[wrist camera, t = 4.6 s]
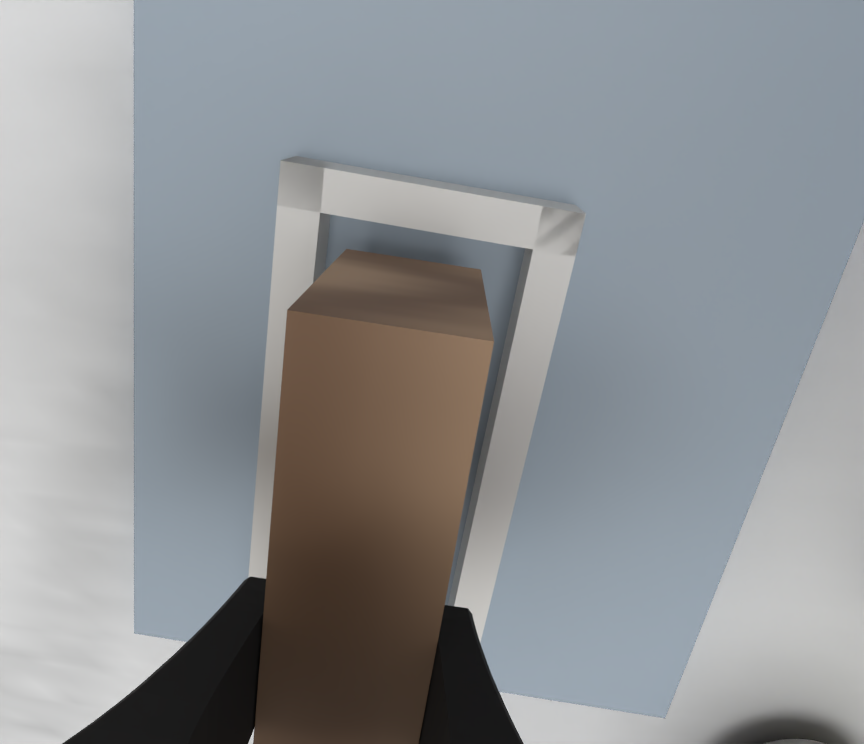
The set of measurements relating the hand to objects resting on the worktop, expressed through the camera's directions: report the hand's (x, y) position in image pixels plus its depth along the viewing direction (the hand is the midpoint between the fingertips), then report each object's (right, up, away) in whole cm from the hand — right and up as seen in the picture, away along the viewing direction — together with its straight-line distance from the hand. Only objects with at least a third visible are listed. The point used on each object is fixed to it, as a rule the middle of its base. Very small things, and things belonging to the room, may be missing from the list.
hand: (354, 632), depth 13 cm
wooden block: (0, +2, +4) cm, 4 cm away
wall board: (+3, +9, +5) cm, 11 cm away
